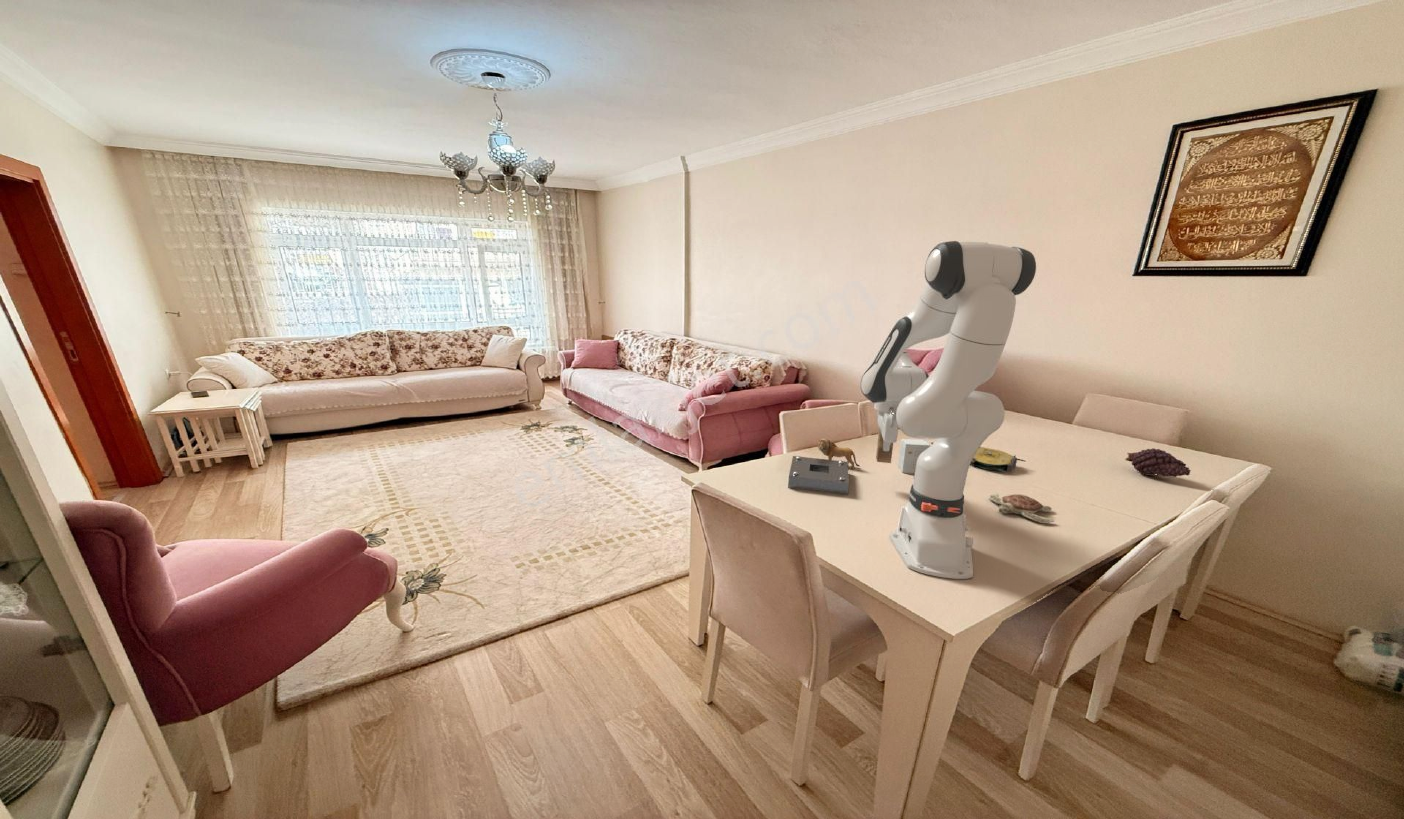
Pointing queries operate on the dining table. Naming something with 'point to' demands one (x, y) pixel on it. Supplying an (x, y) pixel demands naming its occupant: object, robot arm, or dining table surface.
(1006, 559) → the dining table surface
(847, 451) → the lion figurine
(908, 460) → the small box
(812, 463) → the slotted grey base block
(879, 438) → the brown wooden block
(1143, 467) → the pine cone
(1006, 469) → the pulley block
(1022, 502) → the decorative turtle
